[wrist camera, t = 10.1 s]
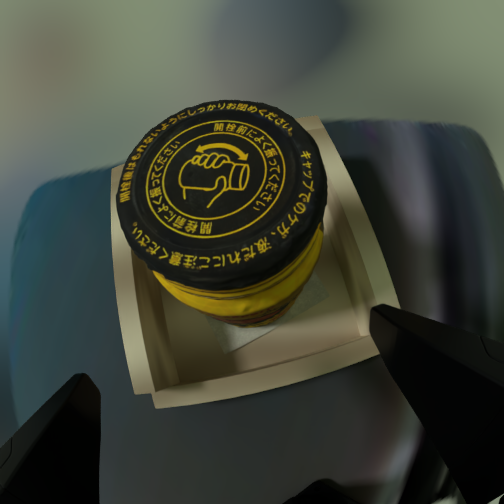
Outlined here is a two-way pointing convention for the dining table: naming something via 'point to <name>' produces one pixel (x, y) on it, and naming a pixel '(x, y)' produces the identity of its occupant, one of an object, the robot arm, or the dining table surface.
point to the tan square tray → (273, 342)
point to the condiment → (229, 214)
